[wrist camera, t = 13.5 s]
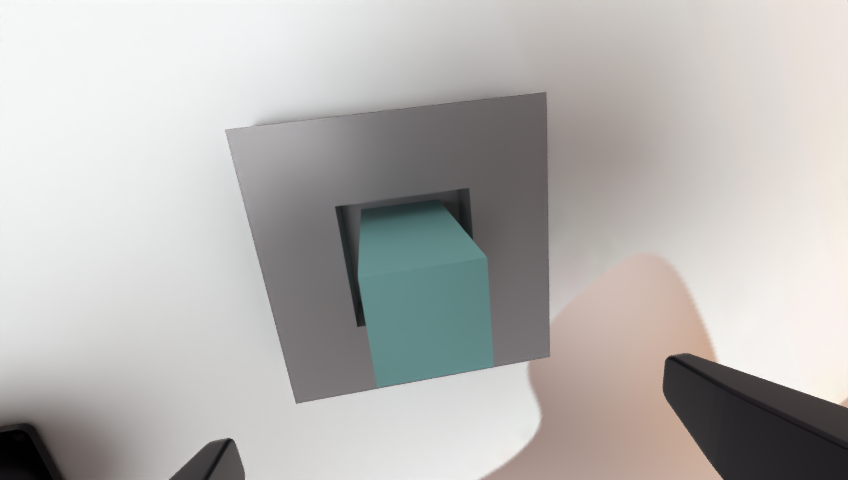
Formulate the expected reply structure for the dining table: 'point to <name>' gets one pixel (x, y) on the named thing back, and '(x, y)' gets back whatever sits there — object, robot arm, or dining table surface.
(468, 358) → the teal rectangular block
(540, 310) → the socket block
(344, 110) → the dining table surface
